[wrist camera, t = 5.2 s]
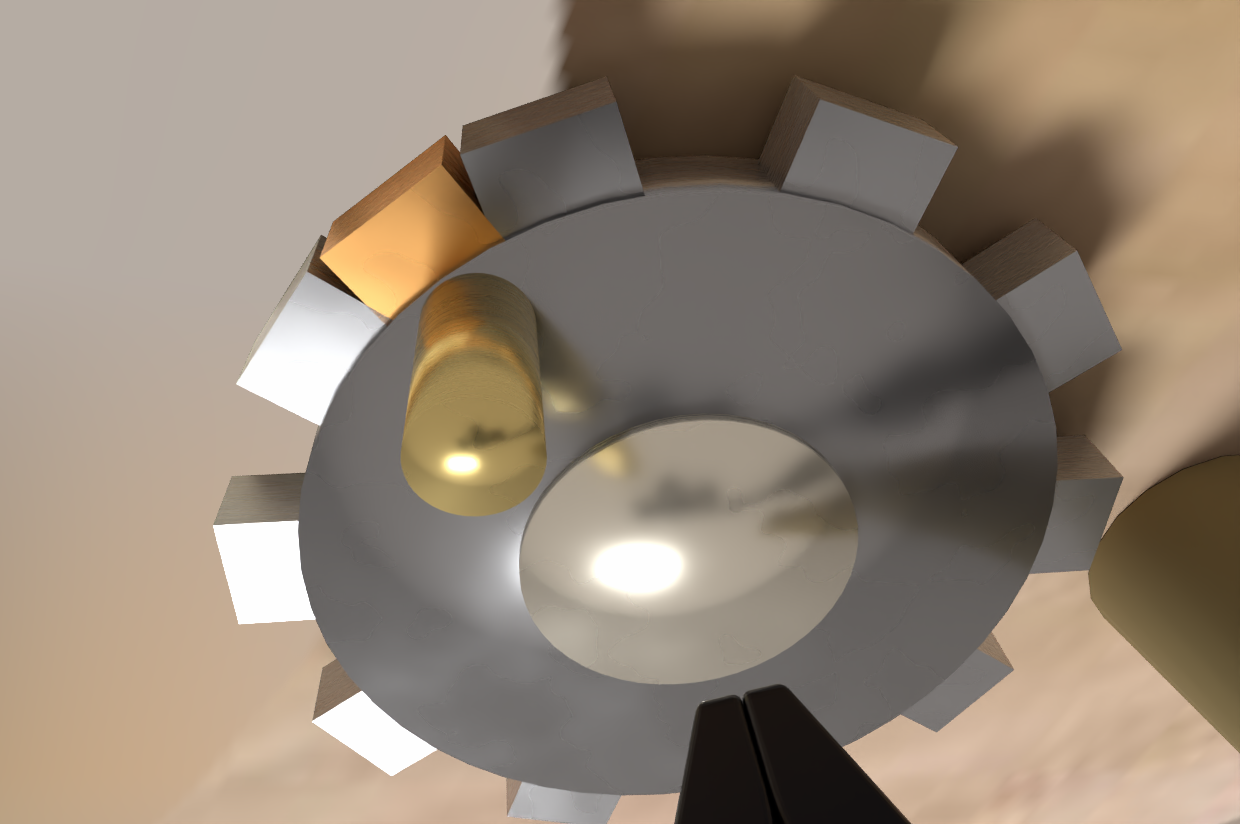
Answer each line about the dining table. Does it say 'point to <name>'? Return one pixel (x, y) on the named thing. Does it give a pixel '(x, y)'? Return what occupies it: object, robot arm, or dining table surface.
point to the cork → (1181, 585)
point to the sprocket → (661, 445)
